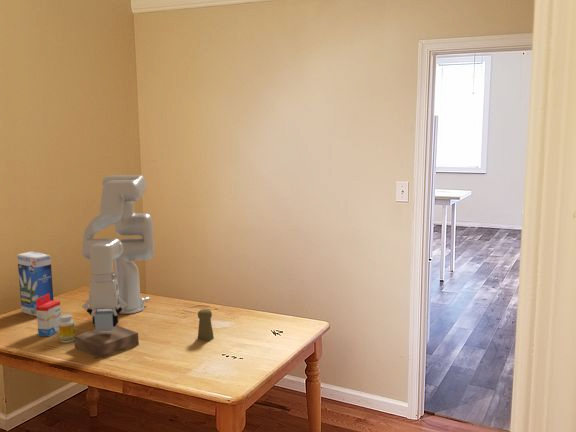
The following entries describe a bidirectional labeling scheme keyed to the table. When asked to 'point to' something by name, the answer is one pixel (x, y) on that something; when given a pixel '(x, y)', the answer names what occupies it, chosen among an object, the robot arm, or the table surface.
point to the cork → (205, 325)
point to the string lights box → (34, 279)
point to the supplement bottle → (66, 328)
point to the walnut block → (106, 341)
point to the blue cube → (104, 320)
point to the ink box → (48, 315)
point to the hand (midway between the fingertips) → (105, 325)
